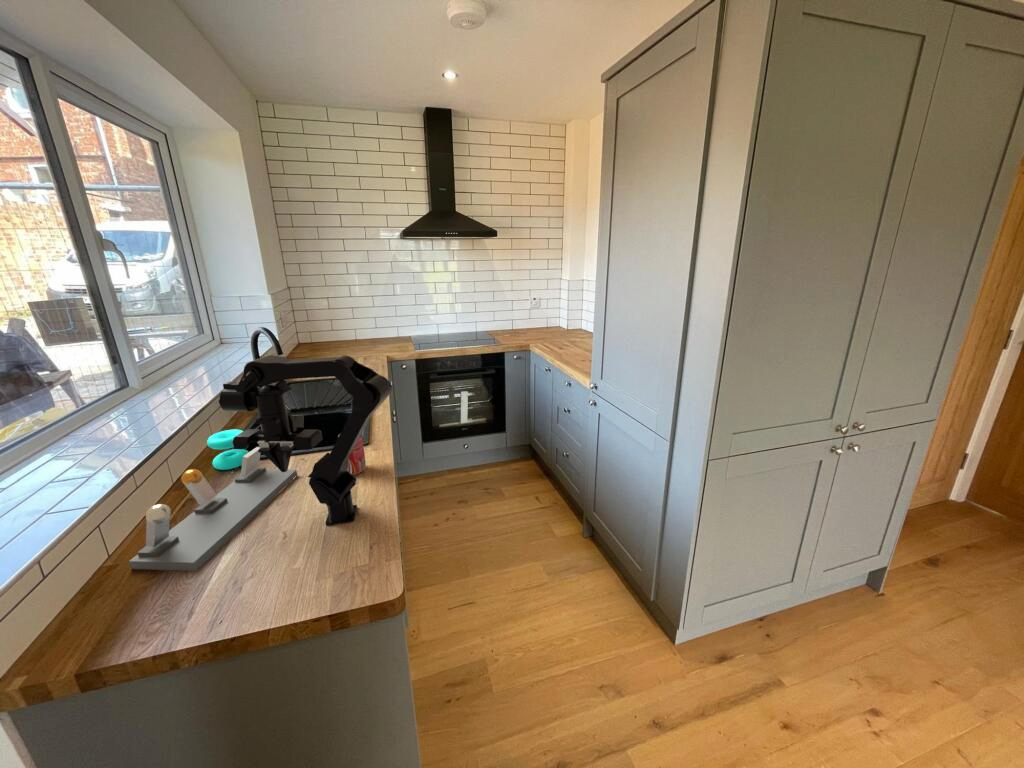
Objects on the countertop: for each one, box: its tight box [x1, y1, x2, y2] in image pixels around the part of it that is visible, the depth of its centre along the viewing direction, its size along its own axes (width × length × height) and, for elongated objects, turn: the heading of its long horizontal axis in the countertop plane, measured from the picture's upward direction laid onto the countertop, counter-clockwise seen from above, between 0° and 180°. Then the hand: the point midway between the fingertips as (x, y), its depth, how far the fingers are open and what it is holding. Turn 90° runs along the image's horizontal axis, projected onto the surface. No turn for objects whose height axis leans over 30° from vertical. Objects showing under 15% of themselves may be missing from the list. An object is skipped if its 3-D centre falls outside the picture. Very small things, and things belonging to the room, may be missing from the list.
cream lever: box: [145, 503, 172, 547], centre depth 86 cm, size 4×4×9 cm
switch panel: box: [128, 466, 298, 571], centre depth 102 cm, size 14×38×3 cm, turn 177°
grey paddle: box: [240, 446, 262, 476], centre depth 115 cm, size 1×6×6 cm, turn 178°
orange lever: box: [181, 468, 218, 506], centre depth 101 cm, size 4×4×9 cm
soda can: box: [337, 433, 367, 476], centre depth 121 cm, size 7×7×12 cm
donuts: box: [206, 428, 250, 471], centre depth 127 cm, size 10×10×10 cm
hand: (284, 471), depth 99 cm, fingers closed
